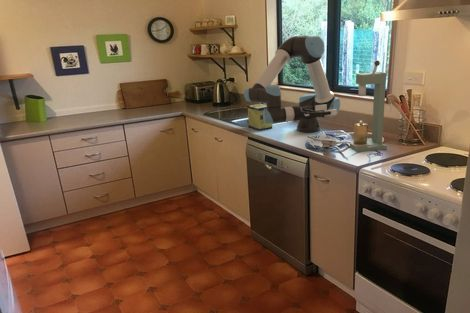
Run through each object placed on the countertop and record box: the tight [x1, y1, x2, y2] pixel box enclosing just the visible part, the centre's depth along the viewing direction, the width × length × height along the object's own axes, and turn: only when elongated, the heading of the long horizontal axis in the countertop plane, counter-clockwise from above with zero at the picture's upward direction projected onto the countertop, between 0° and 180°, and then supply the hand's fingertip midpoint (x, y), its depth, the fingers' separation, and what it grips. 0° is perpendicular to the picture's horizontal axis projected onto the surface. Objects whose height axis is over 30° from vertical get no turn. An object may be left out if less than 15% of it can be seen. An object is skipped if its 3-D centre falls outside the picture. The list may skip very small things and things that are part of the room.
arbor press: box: [349, 60, 388, 153], centre depth 194 cm, size 16×16×46 cm
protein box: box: [247, 103, 273, 132], centre depth 255 cm, size 10×16×16 cm
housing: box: [352, 120, 369, 145], centre depth 198 cm, size 7×7×12 cm
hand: (331, 109), depth 197 cm, fingers open, 13 cm apart
